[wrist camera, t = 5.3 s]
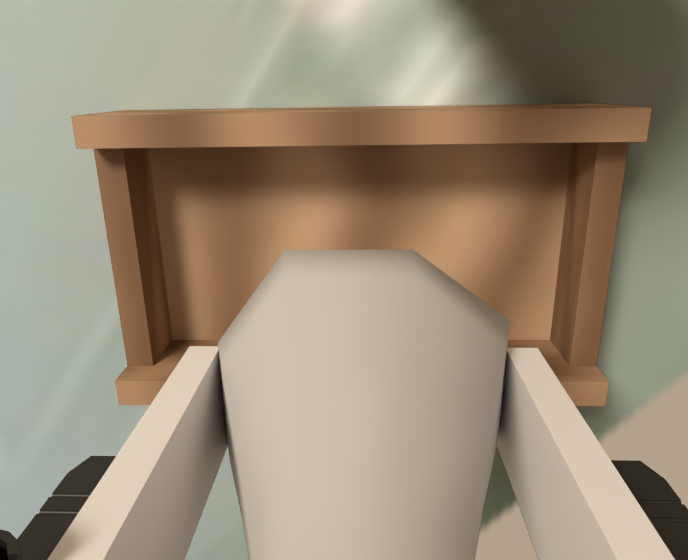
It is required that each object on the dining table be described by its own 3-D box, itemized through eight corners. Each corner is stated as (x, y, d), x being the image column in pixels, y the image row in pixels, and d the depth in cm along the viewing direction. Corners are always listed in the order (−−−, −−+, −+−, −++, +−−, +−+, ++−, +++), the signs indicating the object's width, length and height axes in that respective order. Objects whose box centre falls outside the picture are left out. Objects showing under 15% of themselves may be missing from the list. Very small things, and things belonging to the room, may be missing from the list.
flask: (446, 528, 15) (576, 1224, 6) (188, 455, 15) (-110, 1094, 6) (558, 292, 13) (1058, 828, 4) (257, 197, 13) (-54, 535, 3)
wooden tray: (157, 354, 30) (118, 404, 25) (123, 110, 26) (71, 116, 21) (566, 354, 29) (605, 406, 25) (597, 103, 25) (651, 107, 20)
